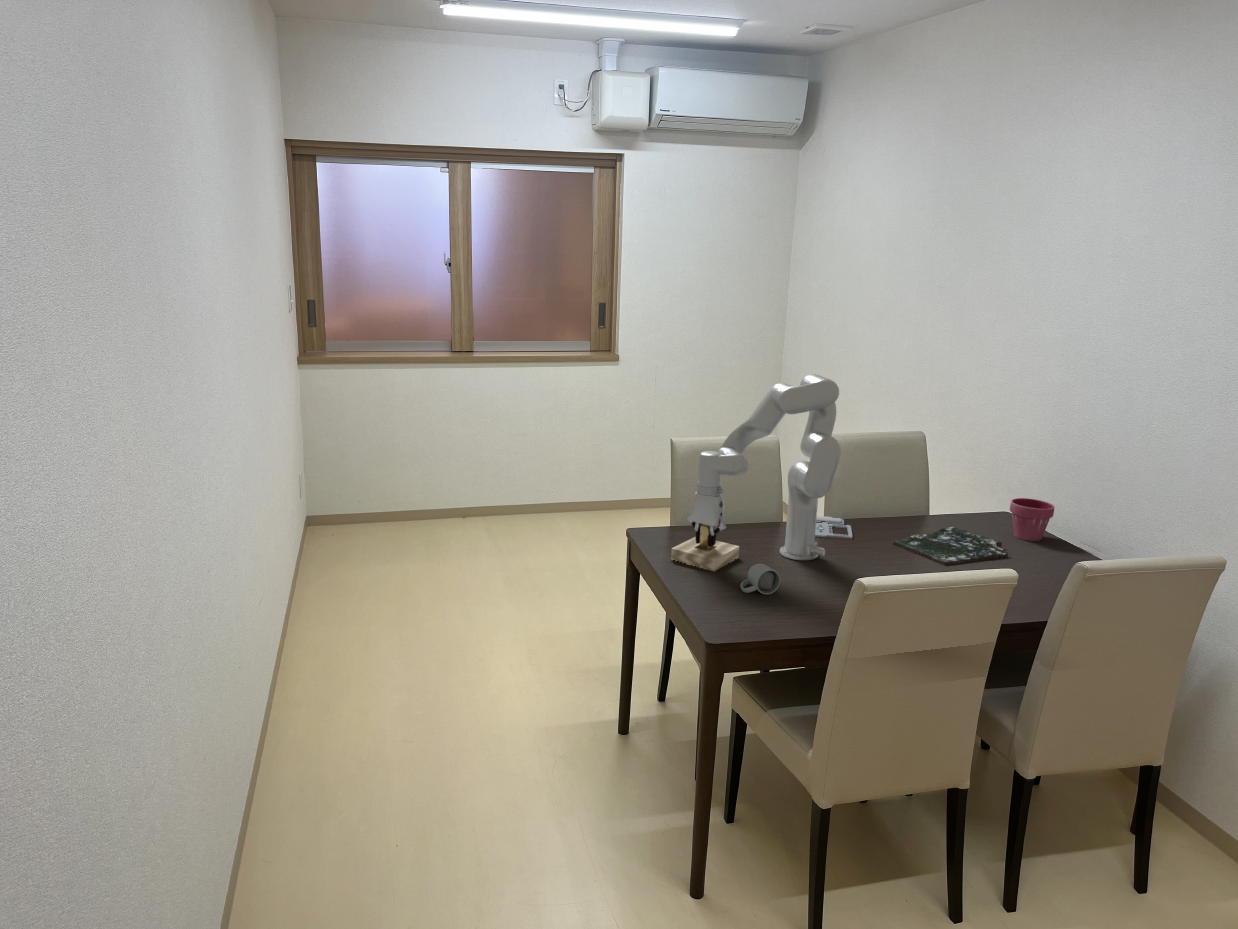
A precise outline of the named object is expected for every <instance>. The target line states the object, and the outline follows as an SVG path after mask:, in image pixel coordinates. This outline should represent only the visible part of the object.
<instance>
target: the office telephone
mask: <svg viewBox="0 0 1238 929" xmlns="http://www.w3.org/2000/svg"><path fill="white" fill-rule="evenodd" d="M821 521H825V522H822V523H816V529H815V538H820V537H821V538H822V539H823V538H824V539H825V538H826V539H827V538H833V539H845V540H853V532H852V526H851V525H849V524H845V520H844V519H842V517H837V516H836V517H835V516H822V515H817V518H816V522H821ZM828 523H829V524H828ZM834 527H835V528H836V529H846V530H847V534H845V533H843V534H842V533H833V528H834Z"/></svg>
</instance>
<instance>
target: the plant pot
mask: <svg viewBox="0 0 1238 929" xmlns="http://www.w3.org/2000/svg"><path fill="white" fill-rule="evenodd" d="M1009 512H1010V513H1011V516H1012V517H1011V518H1012V528H1013V536H1014V537H1015V538H1017V539H1020V540H1023V541H1028V542H1038V541H1039V542H1040V541H1041V540H1042V538H1043V536H1044V534H1045V532H1046V530H1047V526H1048V525H1049V522H1050V520H1051V519H1052V518H1053V517H1054V514H1055V505H1054V504H1052V503H1050V502H1048V501H1044V500H1039V499H1036V498H1027V497H1026V498H1025V497H1018V498H1014V499H1011V501H1010V504H1009Z"/></svg>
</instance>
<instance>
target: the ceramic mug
mask: <svg viewBox="0 0 1238 929" xmlns="http://www.w3.org/2000/svg"><path fill="white" fill-rule="evenodd" d="M749 584H750V585H752V586H749V587H745V586H747V585H749ZM780 584H781V576H780V573H779V572H778V571H777V570H775V569H773V568H771V567H770V566H768V565H767V564H763V563H756V564H753V565H751V566H750V567H749V570H748V571H747V578H746V579H745V580H743V581H742V582H741V583H740V589H741V591H742V592H743V593H745V594H746V593H753V592H755V591H758V592H759V593H760V594H762V595H772V594H773V593H775V592H776V591H777V590H778V588H779V587H780Z"/></svg>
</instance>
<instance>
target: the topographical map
mask: <svg viewBox="0 0 1238 929" xmlns="http://www.w3.org/2000/svg"><path fill="white" fill-rule="evenodd" d="M892 545H894V546H895V547H899V548H901V549H903V550H905V551H908V552H911V553H913V554H916V555H918V556H920V557H922V558H925V559H928V560H931V561H932V562H935V563H938V564H939V563H940V565H942V566H950V565H951V566H952V565H957V564H964V563H966V564H967V563H973V562H979V561H980V562H981V561H986V560H996V559H1004V558H1008V556H1009V552H1006V551H1004V548H1002V546H1003V542H1002V541H996V540H995V539H994V538H992V537H991V538H990V537H989V538H988V537H985V536H984V535H979V534H976V533H972V532H971V533H970V532H968V530H965V529H964V530H963V529H959V528H957V527H955V526H950V527H945V528H942V529H941V528H940V529H939V530H937V531H935V532H931V533H924V534H912V535H910V536H907V537H904V538H903V539H899V540H894V541H892Z"/></svg>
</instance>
